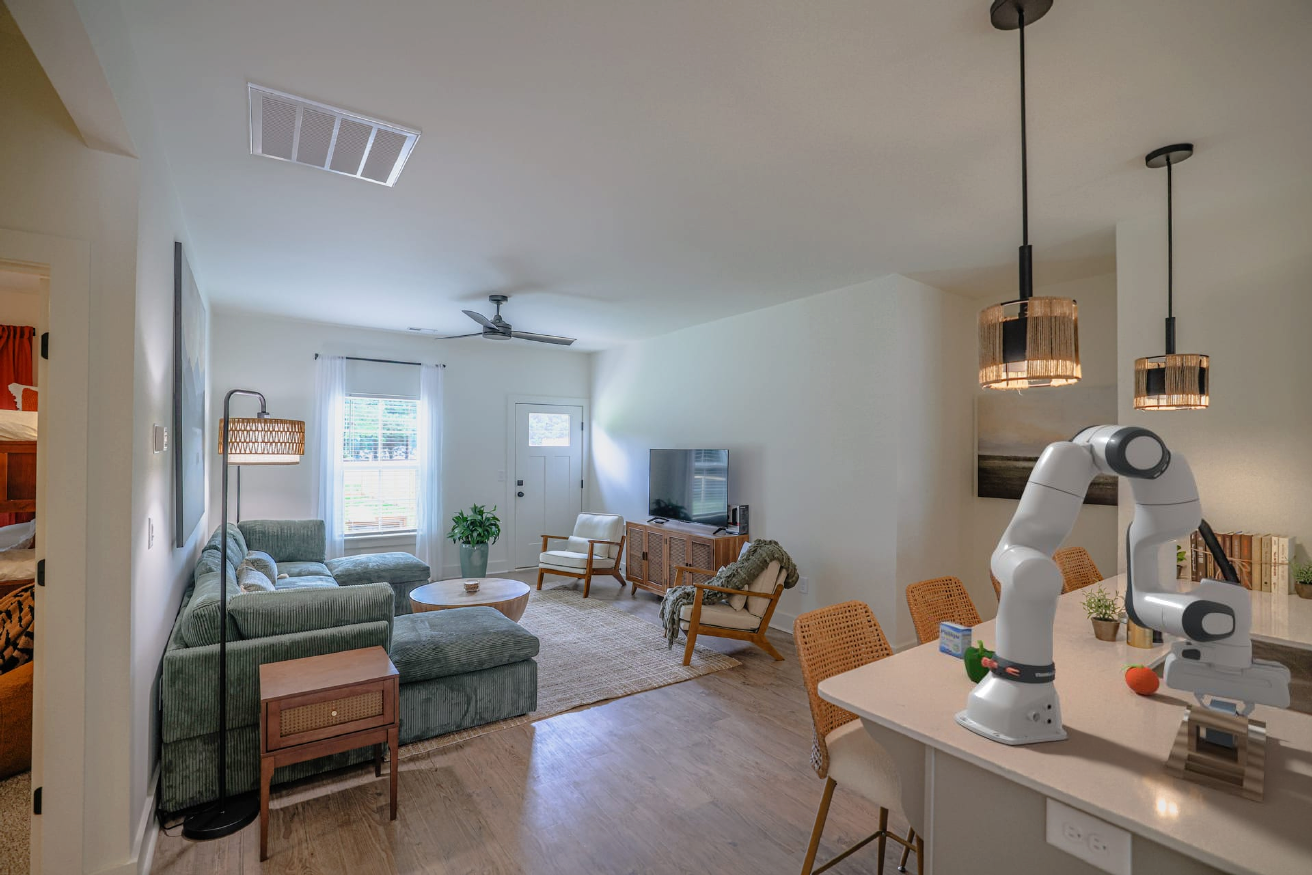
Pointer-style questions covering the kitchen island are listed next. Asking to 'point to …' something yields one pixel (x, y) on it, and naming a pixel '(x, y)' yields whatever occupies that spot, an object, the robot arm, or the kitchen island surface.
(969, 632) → the medicine box
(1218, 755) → the tunnel deck
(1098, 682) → the kitchen island surface
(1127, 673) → the tomato
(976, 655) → the bell pepper
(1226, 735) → the sled block
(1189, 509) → the robot arm
